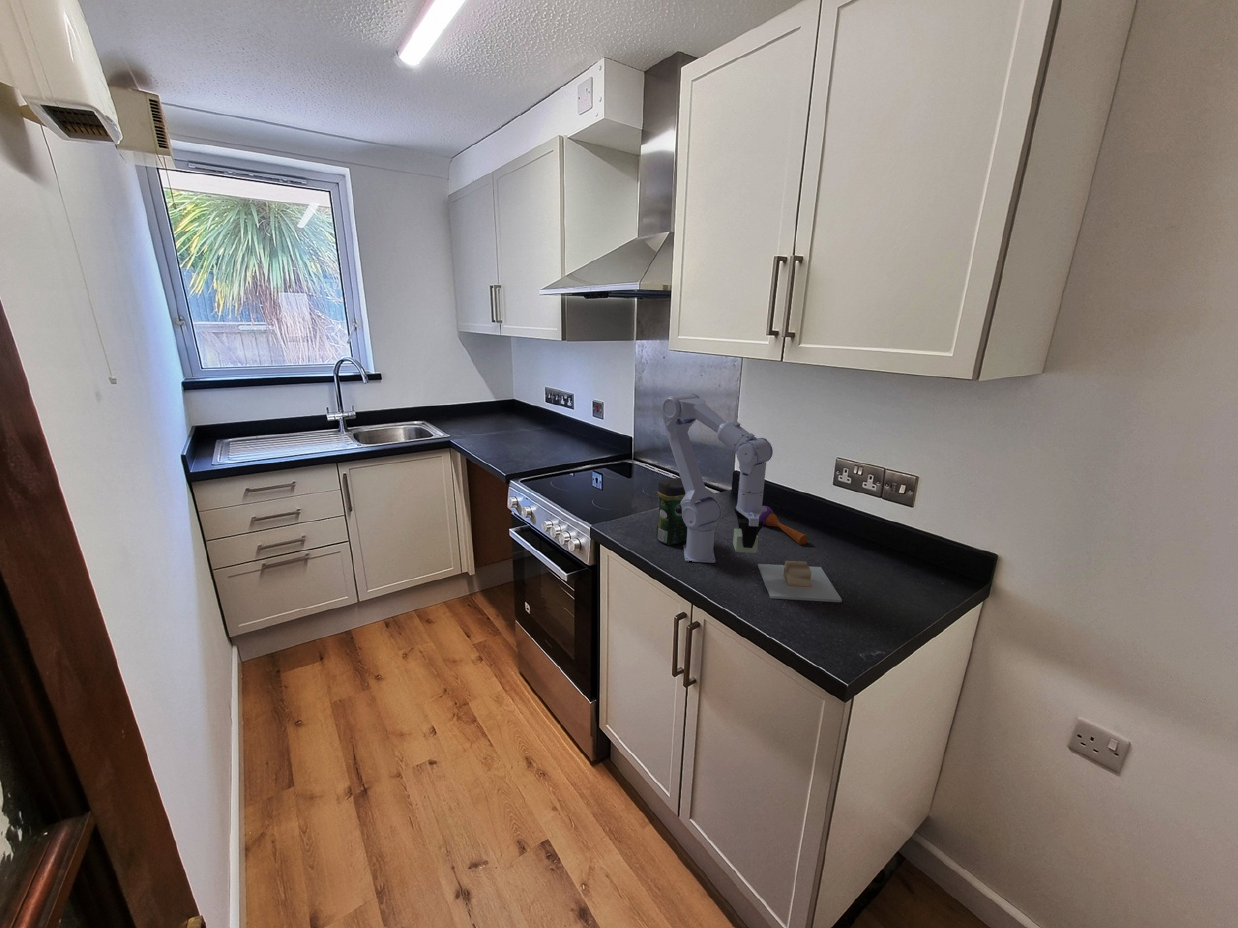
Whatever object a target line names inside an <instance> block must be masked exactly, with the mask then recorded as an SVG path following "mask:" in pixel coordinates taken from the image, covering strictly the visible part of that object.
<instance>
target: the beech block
mask: <svg viewBox="0 0 1238 928" xmlns="http://www.w3.org/2000/svg"><path fill="white" fill-rule="evenodd" d="M784 565H785V566H784V577H785V580H786V582H787V584H788V585H792V586H810V579H811V572H812V571H811V570H810V568H809V567H810V566H809V565H808V563H807V561H801V560H800V561H799V560H797V561H796V560H784Z"/></svg>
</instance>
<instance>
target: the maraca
mask: <svg viewBox="0 0 1238 928" xmlns="http://www.w3.org/2000/svg"><path fill="white" fill-rule="evenodd" d="M764 506H765V507H766V508H767V511H766V512H762V513H761V515H760V517H759V521H763V523H764V525H763V526H767V527H778V528H780V529H781V531H783V532H784V533H786V534H787V536H789V537H790V538H791V539H792V540H794V541H795V542H796V543H797V544H798V545H799V546H803V545H806V544H807V542H808V540H809V538H808V535H807V534H805V533H802V532H800V531H798V530H796V529H793V528H791V527H789V526H787V525H786V524H785V525H784V524H782V523H781V522H780V521H779V518H778V517H777V515H776V514H775V512H774V510H773V509H772V508H771V507H769V506H767V505H764Z"/></svg>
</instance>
